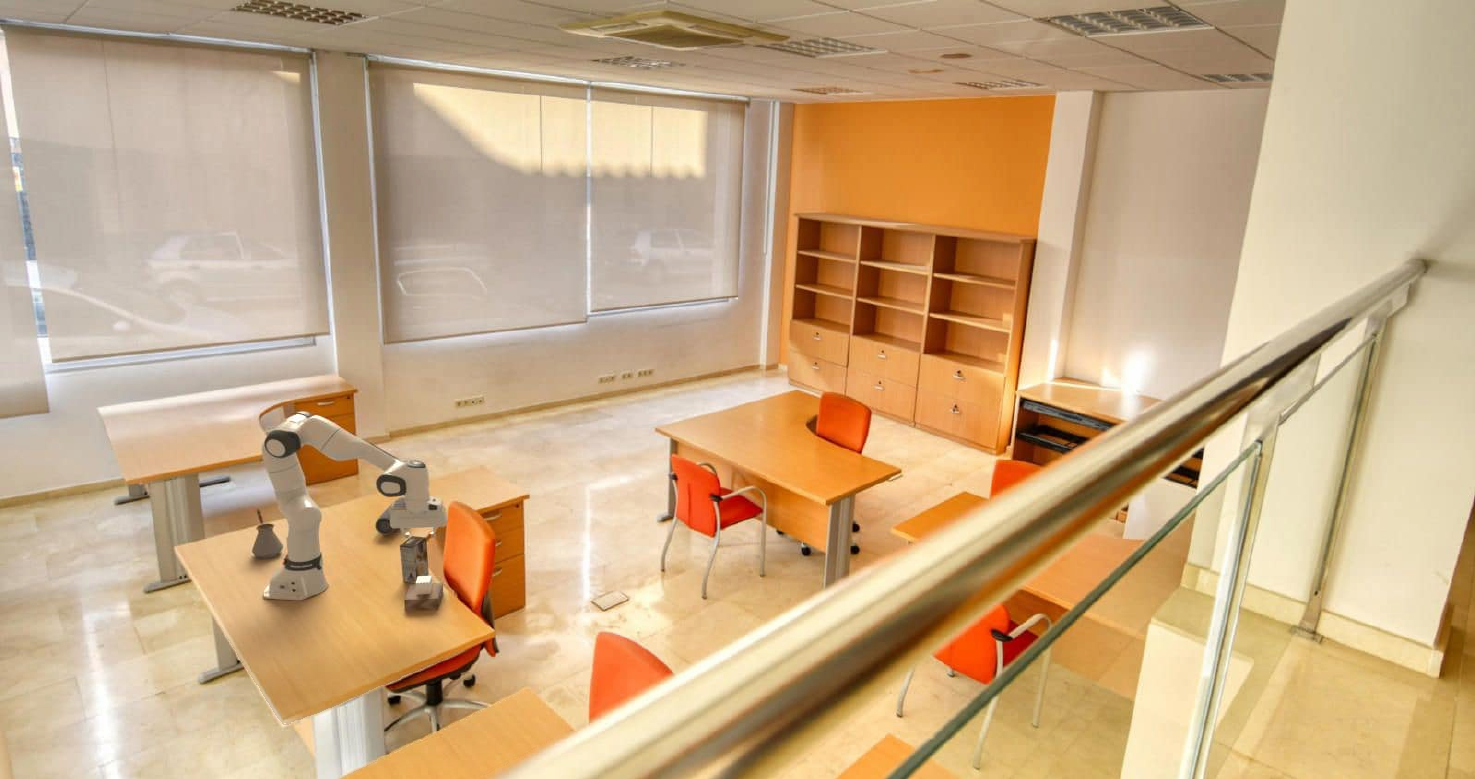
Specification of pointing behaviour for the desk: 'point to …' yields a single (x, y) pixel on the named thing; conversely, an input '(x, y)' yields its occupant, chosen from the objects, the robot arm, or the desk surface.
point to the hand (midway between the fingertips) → (420, 537)
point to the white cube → (423, 585)
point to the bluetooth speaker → (387, 520)
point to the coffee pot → (266, 541)
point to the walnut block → (423, 598)
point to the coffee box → (414, 558)
